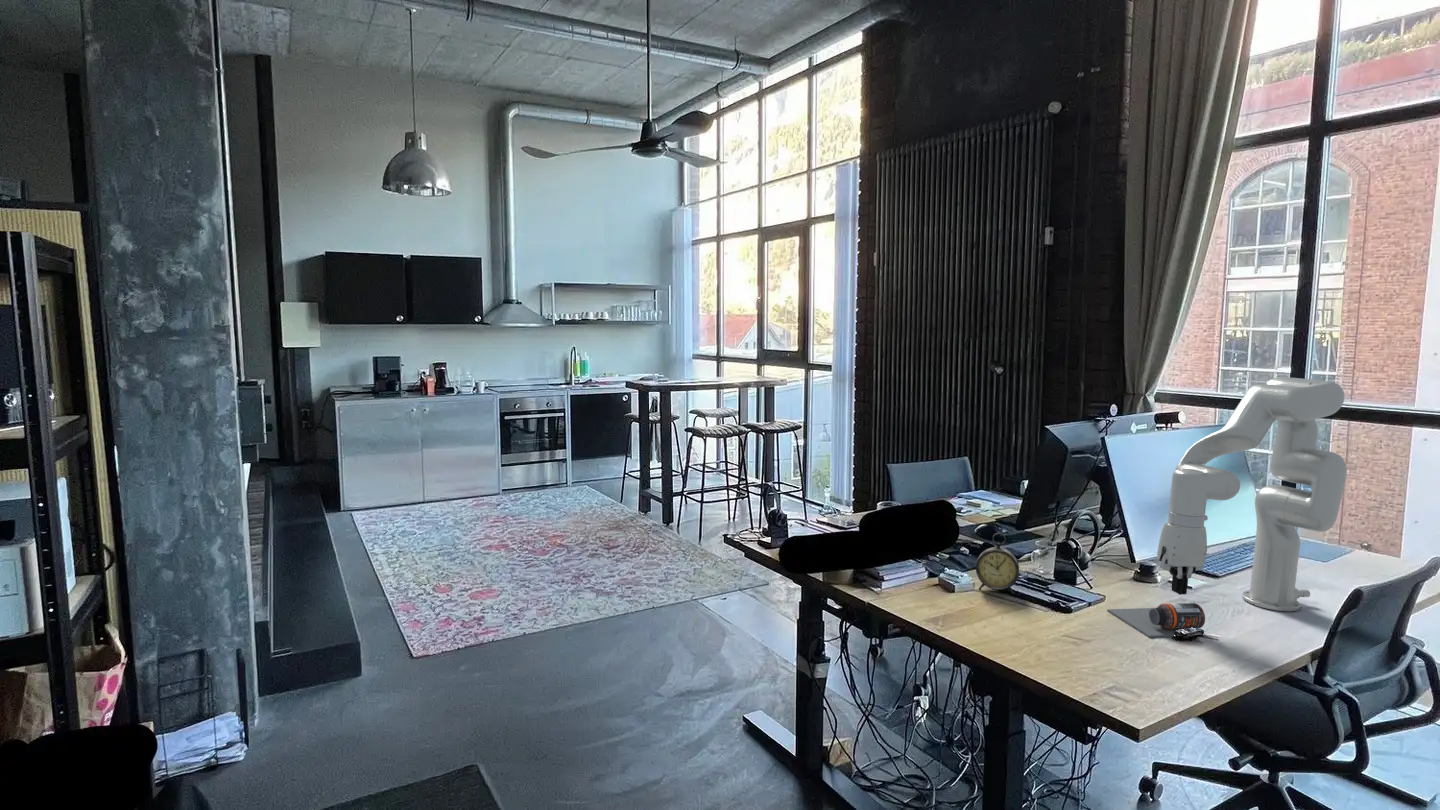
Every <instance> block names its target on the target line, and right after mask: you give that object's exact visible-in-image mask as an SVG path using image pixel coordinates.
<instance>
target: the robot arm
mask: <svg viewBox="0 0 1440 810" xmlns="http://www.w3.org/2000/svg"><path fill="white" fill-rule="evenodd" d="M1344 402H1345V392H1344V390H1343V388H1342V386H1341V385H1340V384H1338V383H1337V382H1335V381H1330V380H1322V379H1321V380H1319V379H1309V378H1301V377H1300V378H1298V377H1286V376H1285V377H1283V376H1281V377H1274V378H1271V379H1268V380H1267V381H1266V382H1265V383H1263V384H1260V383H1259V384H1255V385H1253V386H1251V387H1249V388H1248V390H1247V391H1246V392H1245V393H1244V395H1243V396H1242V398H1241V400H1240V402H1239V403H1237V406H1236V407H1235V408H1234V410H1233V412H1232V414H1231V415H1230V417H1229V418H1228V420H1227V421H1226V423H1225V424H1224V426H1223V427H1222V428H1221V429H1219V430H1217V431H1215V432H1212V433H1210V434H1209V435H1207V436H1205V437H1203V438H1201V439H1199V440H1198V441H1196V442H1194V443H1193V444H1192V445H1191V446H1190V447H1188V449H1187V450H1186V451H1185V453H1184V454H1183V456H1182V458H1181V459H1180V460H1179V462H1178V464H1177V465H1176V467H1175V469H1174V471H1173V472H1172V477H1171V487H1170V498H1169V508H1168V517H1167V522H1165V523H1164V524H1163V527H1162V530H1161V533H1160V536H1159V539H1158V540H1159V541H1158V546H1157V552H1156V553H1157V554H1156V557H1157V558H1156V559H1157V560H1158V561H1159V562H1160V564H1159V568H1160V569H1161V570H1163V571H1166V572H1168V573H1169V574H1170V575H1171V576H1172V579H1171V591H1173V592H1174V593H1176V594H1178V595H1181V596H1182V595H1188V594H1187V592H1188V584H1189V579H1191V578H1192V575H1193V574H1194V573H1195V572H1197V571H1200V570H1202V569H1204V565H1205V563H1206V560H1207V551H1208V538H1207V537H1208V536H1207V529H1206V526H1205V521H1206V522H1207V521H1208V516H1207V515H1206V507H1207V501H1208V500H1211V501H1213V500H1214V501H1228V500H1231V499H1232V498H1234V497H1235V496H1237V494H1238V493H1239V491H1240V489H1241V482H1240V479H1239V477H1238V476H1237V475H1236V474H1235V473H1234V472H1231V471H1230V470H1226V469H1222V468H1217V467H1213V466H1210V465H1209V466H1208V465H1207V464H1208V463H1210V462H1211V461H1212V460H1213V459H1214V460H1215V458H1218V457H1221V456H1224V455H1225V456H1226V455H1230V454H1234V453H1241V452H1245V451H1249V450H1253V449H1255V448H1257V447H1258V446H1259V445H1260V444H1261V443H1262V441H1263V439H1264V437H1266V434H1267V433H1268V432H1269V430H1270V428H1271V427H1272V426H1273V424H1274V423H1275V421H1276V423H1277V429H1276V436H1275V440H1274V445H1273V449H1272V455H1271V460H1270V465H1269V466H1270V474H1271V475H1272V476H1273V477H1274V478H1276V479H1278V480H1281V481H1285V482H1289V483H1292V484H1293V483H1294V484H1298V485H1303V486H1307V487H1311V491H1310V490H1309V491H1308V490H1304V489H1300V488H1295V487H1290V486H1287V485H1280V484H1269V485H1266V486H1263V487H1261V488H1260V489H1259V490H1258V491H1257V493H1256V495H1255V499H1254V508H1255V515H1256V517H1255V518H1256V531H1255V542H1254V550H1253V560H1252V561H1253V562H1252V568H1251V570H1252V571H1251V580H1250V585H1249V586H1250V587H1249V590H1245V591H1243V592H1242V596H1241V597H1242V599H1243V600H1244V599H1245V600H1246V601H1245V600H1244V601H1245V602H1247V601H1248V602H1247V603H1249V604H1252V605H1253V604H1254V606H1256V607H1259V608H1263V609H1265V610H1266V609H1267V610H1272V611H1278V612H1297V611H1299V610H1301V606H1302V605H1301V602H1299V601H1298V599H1300V598H1310V596H1311V592H1310V590H1309V589H1298V588H1297V587H1296V582H1297V573H1298V564H1299V558H1300V557H1299V556H1300V549H1301V539H1300V536H1299V533H1298V531H1297V529H1296V528H1300V529H1304V530H1308V531H1313V532H1319V533H1322V532H1327V531H1329V530H1331V529H1332V528H1333V526H1334V525H1335V523H1336V521H1337V519H1338V516H1339V515H1338V514H1339V511H1340V506H1341V502H1342V497H1343V492H1344V490H1345V489H1344V488H1345V483H1346V479H1347V473H1348V471H1347V463H1346V461H1345V460H1344V458H1343V456H1341V455H1340V454H1338V453H1336V452H1333V451H1329V450H1324V449H1322V450H1321V449H1317V447H1316V446H1317V441H1318V435H1319V426H1318V424H1317V421H1316V420H1318V419H1321V418H1325V417H1329V416H1332V415H1334V414H1335V413H1337V412H1338V411H1339V410H1340V409H1341V408H1342V406H1343V405H1344Z"/></svg>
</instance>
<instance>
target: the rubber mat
mask: <svg viewBox="0 0 1440 810" xmlns="http://www.w3.org/2000/svg"><path fill="white" fill-rule="evenodd" d="M1151 608H1152V607H1142V608H1140V607H1137V608H1135V607H1134V608H1108V609H1107V610H1106V611H1107V612H1108V613H1109V614H1111V615H1112V616H1114V617H1116V618H1117V619H1119V620H1121V622H1124V623H1125V624H1127V625H1128V626H1130V627H1132V629H1135V630H1136V631H1138V632H1140V633H1141V634H1143V635H1144V636H1146V637H1147V638H1149V639H1151V638H1153V639H1154V638H1155V639H1157V638H1174V637H1173V636H1174V635H1175V634H1174V632H1175V631H1176V630H1178V629H1165V628H1163V627H1161V626H1160V625H1154V624H1153V623H1152V622H1151V621H1150V619H1149V611H1150V609H1151Z"/></svg>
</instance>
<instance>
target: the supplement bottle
mask: <svg viewBox="0 0 1440 810" xmlns="http://www.w3.org/2000/svg"><path fill="white" fill-rule="evenodd" d="M1150 608H1151V609H1150V611H1149V619H1150V621H1151V622H1152V623H1153V624H1154V625H1160V626H1161V627H1163V628H1165V629H1184V628H1191V627H1193V628H1197V629H1201V628H1203V627H1204V625H1205V623H1206V615H1205V612H1204V609H1203V608H1202V607H1201V605H1199V604H1197V603H1194V602H1193V603H1192V602H1191V603H1190V602H1189V603H1188V602H1187V603H1186V602H1183V603H1182V602H1181V603H1174V602H1173V603H1161V604H1158V606H1157V607H1150Z"/></svg>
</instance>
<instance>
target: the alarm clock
mask: <svg viewBox="0 0 1440 810" xmlns="http://www.w3.org/2000/svg"><path fill="white" fill-rule="evenodd" d="M996 535H1001V536H1002V537H1003V538H1004V541H1003V542H1002V543H1000V542H996V541H995V540H994V539H995V536H996ZM1006 540H1007V538H1006V536H1005V535H1004V534H1003V533H1001V532H997V533H994V534H993V536H992V542H993V543H994V544H995V545H996V546H993V547H989V548H986V549H984V550H982V552H981V553H980V554H979V556H978V558H977V560H976V564H975V573H976V576H977V578H978V580H979V581H980V583H981V585H980V586H979V587H978V590H980V591H981V590H982V588H983V587H987V588H989V589H992V590H995V591H1004V590H1007V589H1008V591H1010V592H1011V594H1012V595H1015V592H1014V590H1013V589H1012V587H1013V586H1014V585H1015V584H1016V582H1017V581H1018V578H1019V576H1020V566H1019V565H1020V564H1019V562H1018V561H1019V560H1018V559H1017V558H1016V556H1015V555H1014V553H1012V551H1010V550H1008V549H1006V548H1003V547H1001V545H1004V544H1005V542H1006Z"/></svg>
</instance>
